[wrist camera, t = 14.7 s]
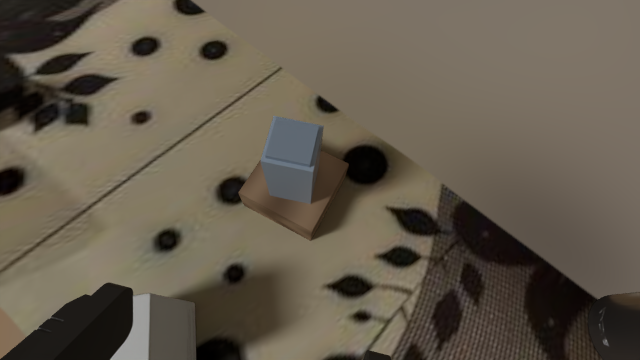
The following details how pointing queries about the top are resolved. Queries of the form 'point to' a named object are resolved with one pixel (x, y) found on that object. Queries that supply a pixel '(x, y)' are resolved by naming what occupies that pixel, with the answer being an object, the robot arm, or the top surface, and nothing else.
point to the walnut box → (293, 212)
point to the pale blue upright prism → (292, 158)
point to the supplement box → (160, 330)
